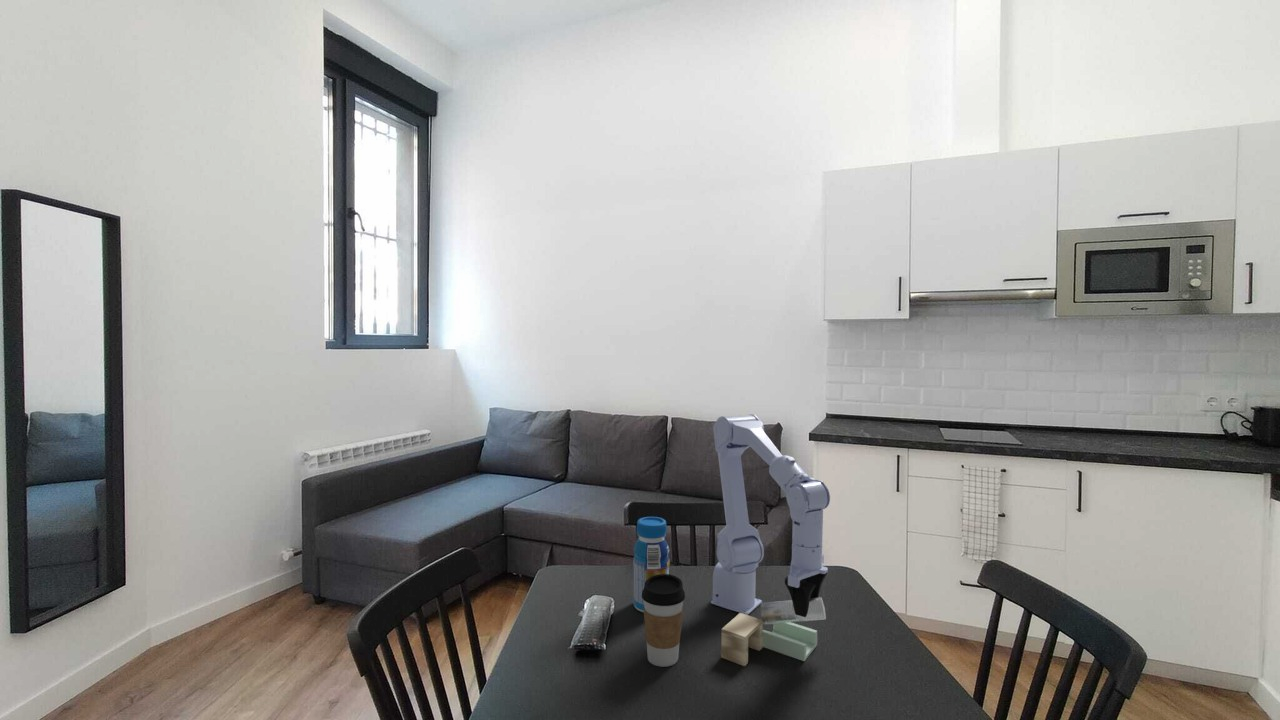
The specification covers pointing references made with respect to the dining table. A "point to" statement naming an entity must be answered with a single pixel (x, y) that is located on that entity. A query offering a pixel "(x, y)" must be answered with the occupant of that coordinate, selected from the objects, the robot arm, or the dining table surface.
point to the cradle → (790, 640)
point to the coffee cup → (663, 618)
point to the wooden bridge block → (741, 638)
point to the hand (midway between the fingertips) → (805, 609)
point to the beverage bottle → (649, 555)
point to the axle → (791, 611)
